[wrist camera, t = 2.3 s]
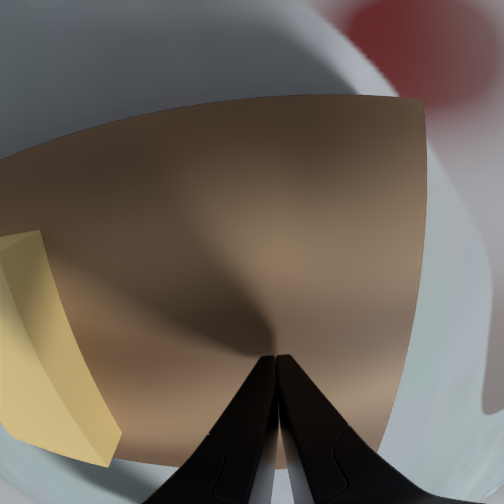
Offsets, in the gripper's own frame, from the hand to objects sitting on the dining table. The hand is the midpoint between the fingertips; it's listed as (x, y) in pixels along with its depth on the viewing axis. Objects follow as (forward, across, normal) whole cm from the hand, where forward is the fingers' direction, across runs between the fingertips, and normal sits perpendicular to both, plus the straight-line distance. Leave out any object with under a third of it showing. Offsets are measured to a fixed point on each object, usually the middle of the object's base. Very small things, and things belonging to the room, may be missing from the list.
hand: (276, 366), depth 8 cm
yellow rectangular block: (0, +10, 0) cm, 10 cm away
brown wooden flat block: (+4, +6, 0) cm, 7 cm away
